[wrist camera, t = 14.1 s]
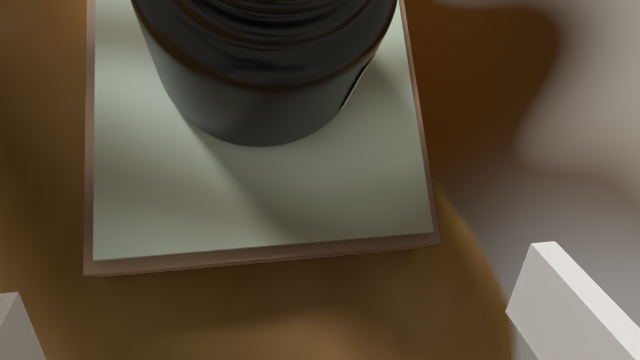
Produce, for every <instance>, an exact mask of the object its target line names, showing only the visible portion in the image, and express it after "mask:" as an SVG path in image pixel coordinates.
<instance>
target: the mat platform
mask: <svg viewBox="0 0 640 360" xmlns="http://www.w3.org/2000/svg"><path fill="white" fill-rule="evenodd" d="M440 243H441V238H440V232H439V225H438V219H437V212H436V206H435V199H434V193H433V186H432V180H431V174H430V167H429V161H428V154H427V148H426V141H425V135H424V128H423V122H422V116H421V109H420V103H419V96H418V90H417V83H416V77H415V71H414V64H413V57H412V51H411V44H410V38H409V32H408V25H407V19H406V12H405V6H404V0H398V1H397V6H396V10H395V13H394V16H393V19H392V22H391V24H390V27H389V29H388V31H387V33H386V35H385V37H384V38H383V40H382V42H381V44H380V46H379V48H378V49H377V51H376V53H375V55H374V57H373V58H372V60H371V62H370V63H369V65H368V67H367V68H366V70H365V72H364V73H363V75H362V77H361V79H360V80H359V82H358V84H357V86H356V88H355V89H354V91H353V93H352V95H351V96H350V98H349V100H348V101H347V103H346V104H345V106H344V107H343V109H342V110H341V111H340V112H339V113H338V114H337V115H336V116H335V117H334V118H333V119H332V120H331V121H330V122H329V123H328V124H326V125H325V126H324V127H322V128H321V129H319V130H318V131H316V132H315V133H313V134H311V135H309V136H307V137H305V138H302V139H300V140H297V141H295V142H291V143H288V144H284V145H279V146H272V147H246V146H239V145H234V144H230V143H227V142H224V141H222V140H219V139H217V138H215V137H213V136H211V135H209V134H207V133H205V132H204V131H202V130H201V129H199V128H198V127H197V126H195V125H194V124H193V123H192V122H190V121H189V120H188V119H187V118H186V117H185V116H184V115H183V114H182V113H181V112H180V111H179V110H178V108H177V107H176V106H175V105H174V103H173V102H172V100H171V99H170V97H169V96H168V94H167V93H166V91H165V89H164V87H163V85H162V83H161V81H160V78H159V76H158V73H157V70H156V68H155V65H154V62H153V60H152V57H151V54H150V52H149V49H148V46H147V44H146V41H145V39H144V36H143V33H142V31H141V28H140V25H139V23H138V20H137V17H136V15H135V12H134V9H133V7H132V4H131V1H130V0H87V30H86V100H85V170H84V240H83V275H87V276H98V277H111V276H122V275H133V274H144V273H155V272H166V271H177V270H189V269H200V268H211V267H222V266H233V265H244V264H255V263H266V262H277V261H288V260H299V259H310V258H321V257H332V256H343V255H354V254H365V253H376V252H387V251H398V250H409V249H418V248H422V247H427V246H431V245H435V244H440Z"/></svg>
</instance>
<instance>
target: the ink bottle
mask: <svg viewBox="0 0 640 360" xmlns="http://www.w3.org/2000/svg"><path fill="white" fill-rule="evenodd" d="M130 1H131V4H132V7H133V9H134V12H135V15H136V17H137V20H138V23H139V25H140V28H141V31H142V33H143V36H144V39H145V41H146V44H147V46H148V49H149V52H150V54H151V57H152V60H153V62H154V65H155V68H156V70H157V73H158V76H159V78H160V81H161V83H162V85H163V87H164V89H165V91H166V93H167V94H168V96H169V97H170V99H171V100H172V102H173V103H174V105H175V106H176V107H177V108H178V110H179V111H180V112H181V113H182V114H183V115H184V116H185V117H186V118H187V119H188V120H189V121H190V122H192V123H193V124H194V125H195V126H197V127H198V128H199V129H201V130H202V131H204V132H205V133H207V134H209V135H211V136H213V137H215V138H217V139H219V140H222V141H224V142H227V143H230V144H234V145H239V146H246V147H272V146H279V145H284V144H288V143H291V142H295V141H297V140H300V139H302V138H305V137H307V136H309V135H311V134H313V133H315V132H316V131H318V130H319V129H321V128H322V127H324V126H325V125H326V124H328V123H329V122H330V121H331V120H332V119H333V118H334V117H335V116H336V115H337V114H338V113H339V112H340V111H341V110H342V109H343V107H344V106H345V104H346V103H347V101H348V100H349V98H350V96H351V95H352V93H353V91H354V89H355V88H356V86H357V84H358V82H359V80H360V79H361V77H362V75H363V73H364V72H365V70H366V68H367V67H368V65H369V63H370V62H371V60H372V58H373V57H374V55H375V53H376V51H377V49H378V48H379V46H380V44H381V42H382V40H383V38H384V37H385V35H386V33H387V31H388V29H389V27H390V24H391V22H392V19H393V16H394V13H395V10H396V6H397V1H398V0H130Z"/></svg>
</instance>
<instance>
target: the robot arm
mask: <svg viewBox="0 0 640 360" xmlns="http://www.w3.org/2000/svg"><path fill="white" fill-rule="evenodd" d="M505 312H506V313H507V315H508V316H509V318H510V319H511V321H512V322H513V323H514V325H515V326H516V328H517V329H518V331H519V332H520V333H521V335H522V336H523V338H524V339H525V341H526V342H527V344H528V345H529V347H530V348H531V349H532V351H533V352H534V354H535V355H536V357H537V358H538V360H640V328H639V327H638V326H637V325H636V324H635V323H634V322H633V321H632V320H631V319H630V318H629V317H628V316H627V315H626V314H625V313H624V312H623V311H622V310H621V309H620V308H619V307H618V306H617V305H616V303H614V301H613V300H612V299H611V298H610V297H608V295H607V294H606V293H605V292H604V291H603V290H602V289H601V288H600V287H599V286H598V285H597V284H596V283H595V282H594V281H593V280H592V279H591V278H590V277H589V276H588V275H587V274H586V273H585V272H584V271H583V270H582V269H581V268H580V266H579V265H578V264H577V263H576V262H575V261H574V260H573V259H572V258H571V257H570V256H569V255H568V254H567V253H566V252H565V251H564V250H563V249H562V248H561V247H560V246H559V245H558V244H557V243H556V242H555V241H554V242H542V243H532V244H531V245H530V248H529V250H528V253H527V256H526V259H525V261H524V264H523V266H522V269H521V272H520V275H519V277H518V280H517V282H516V285H515V287H514V290H513V293H512V296H511V298H510V301H509V303H508V306H507V309H506V311H505ZM0 360H46V358H45V355H44V353H43V350H42V348H41V346H40V343H39V341H38V338H37V336H36V334H35V331H34V329H33V326H32V324H31V321H30V319H29V317H28V314H27V312H26V309H25V307H24V304H23V302H22V300H21V297H20V295H19V292H11V293H0Z"/></svg>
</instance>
